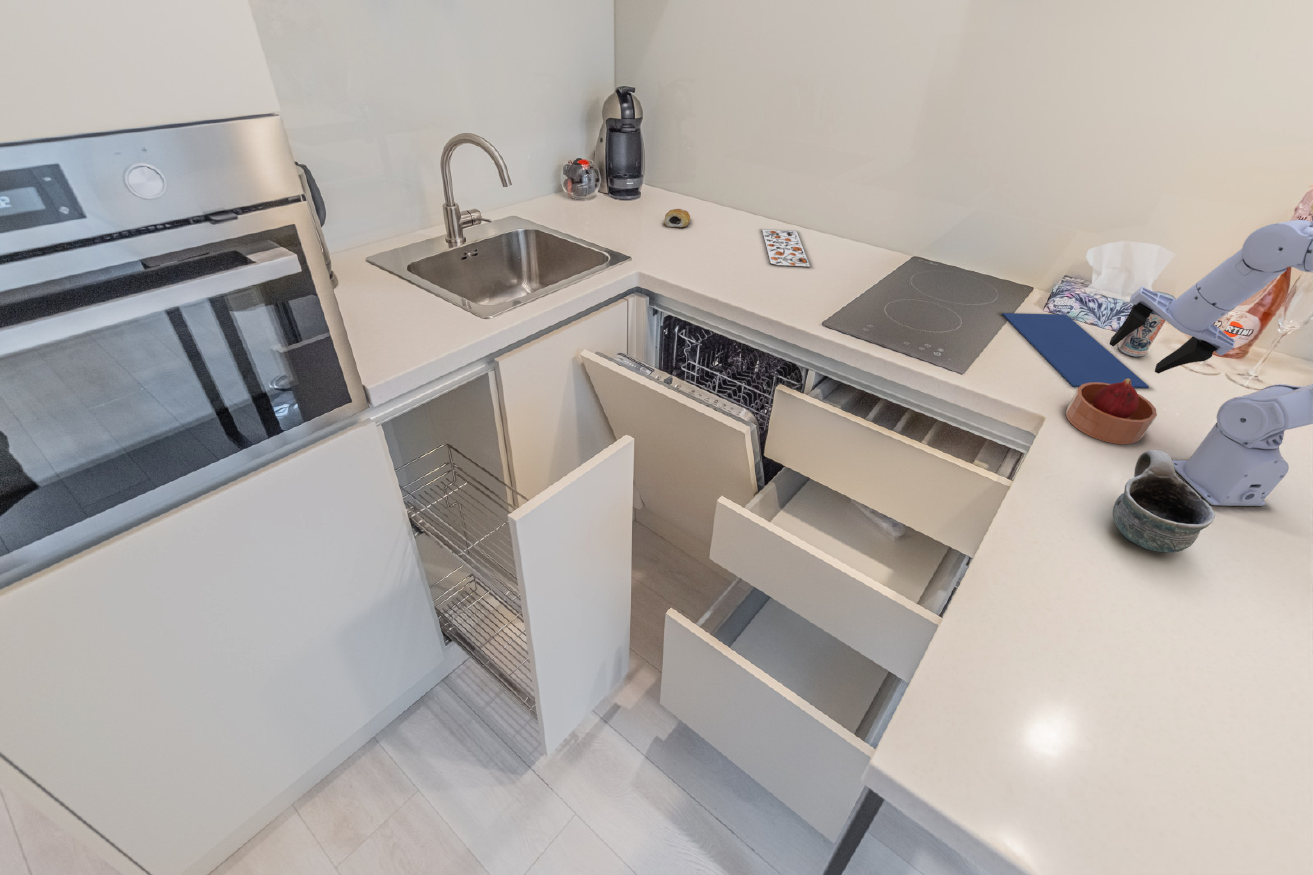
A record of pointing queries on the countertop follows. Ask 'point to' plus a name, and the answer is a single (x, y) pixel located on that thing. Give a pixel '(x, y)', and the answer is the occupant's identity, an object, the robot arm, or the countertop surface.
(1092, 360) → the cloth
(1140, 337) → the beer can
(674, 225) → the pastry
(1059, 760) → the countertop surface
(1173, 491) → the mug
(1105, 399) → the onion
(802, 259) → the paper towel
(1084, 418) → the bowl
